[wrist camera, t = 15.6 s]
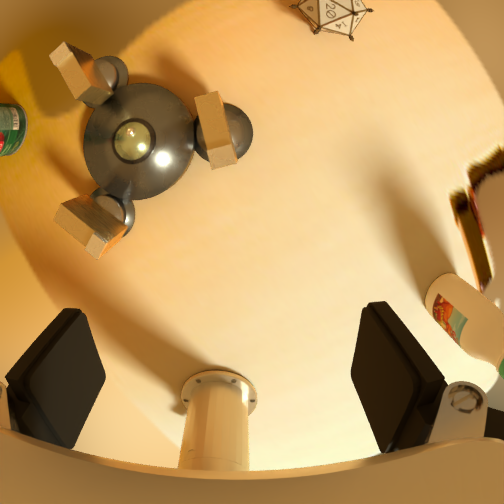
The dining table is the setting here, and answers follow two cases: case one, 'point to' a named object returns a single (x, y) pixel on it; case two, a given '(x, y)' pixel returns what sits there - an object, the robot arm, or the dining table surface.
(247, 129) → the plate
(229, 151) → the knob
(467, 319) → the milk bottle
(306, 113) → the dining table surface
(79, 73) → the knob
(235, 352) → the dining table surface
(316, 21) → the game die
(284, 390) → the dining table surface
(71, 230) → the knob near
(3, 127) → the canned tomato
